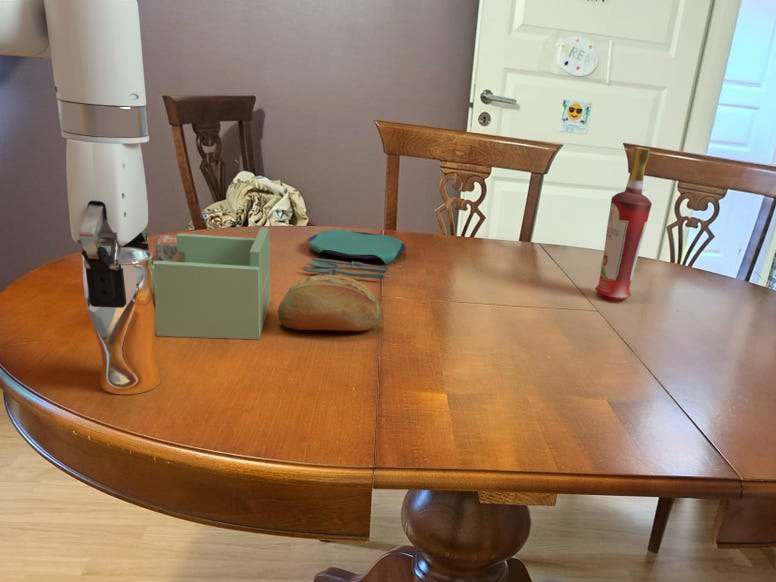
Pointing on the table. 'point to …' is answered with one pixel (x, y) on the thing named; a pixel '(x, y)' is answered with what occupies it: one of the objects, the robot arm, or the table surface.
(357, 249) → the cutlery set
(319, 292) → the bread roll
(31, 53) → the robot arm
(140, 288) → the beer glass
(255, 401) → the table surface
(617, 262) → the liquor
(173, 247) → the packaged product
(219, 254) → the green boxy piece
